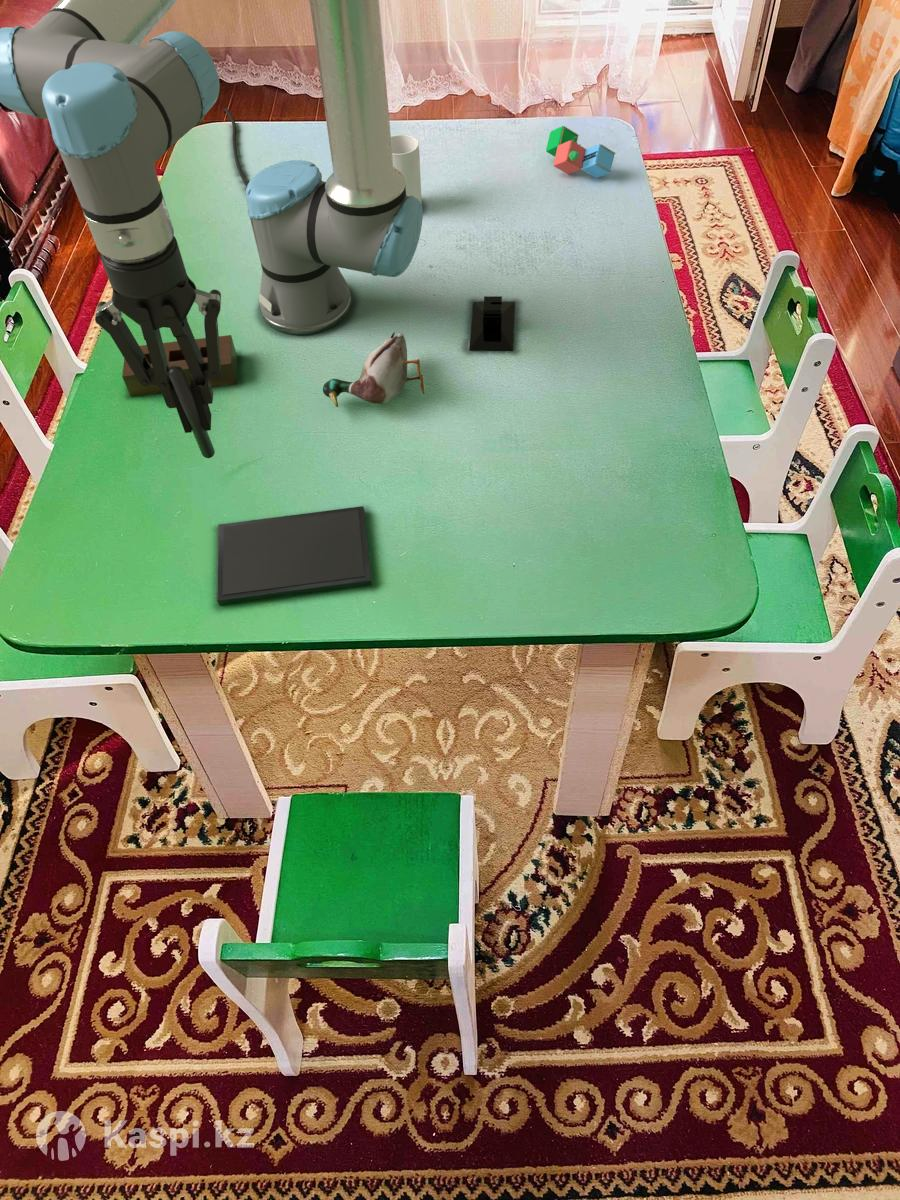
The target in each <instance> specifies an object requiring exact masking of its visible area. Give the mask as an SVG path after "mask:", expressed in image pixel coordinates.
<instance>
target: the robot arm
mask: <svg viewBox="0 0 900 1200" xmlns="http://www.w3.org/2000/svg"><path fill="white" fill-rule="evenodd" d="M177 1H178V0H58V1H57V2H56V3H55V4H54V5H53V6H52V7H51V8H50V10H49V11H48V12H47V13H46V14H45V15H44V16H43V17H42V18H41V19H39V20H38V22H37V23H35V25H34V26H32V27H30V28H26V27H25V26H22V25H20V26H19V25H16V26H13V27H12V26H11V27H9V26H5V27H1V28H0V103H1V104H2V105H3V106H4V107H5V108H7V109H9V110H12V111H14V112H17V113H21V114H25V115H28V116H32V117H34V118H37V119H40V120H48V123H49V127H50V132H51V137H52V139H53V142H54V144H55V146H56V148H57V149H58V152H59V154H60V156H61V159H62V161H63V164H64V166H65V170H66V171H67V173H68V177H69V179H70V181H71V184H72V187H73V189H74V191H75V194H76V196H77V198H78V202H79V204H80V207H81V210H82V213H83V216H84V217H85V221H86V224H87V226H88V228H89V231H90V233H91V236H92V238H93V239H92V240H93V241H94V244H95V246H96V249H97V251H98V252H99V253H100V256H99V257H100V261H101V264H102V266H103V269H104V271H105V273H106V276H107V279H108V281H109V283H110V287H111V289H112V295H111V299H109V300H107V301H99V302H98V303H97V306H96V311H95V317H94V321H95V323H96V324H97V325H98V326H99V327H100V328H102V329H103V331H105V332H106V333H107V334H109V336H110V337H111V339H112V340H113V342H114V344H115V345H116V347H117V348H118V350H119V352H120V354H121V355H122V357H123V359H124V358H125V360H126V362H127V363H128V365H129V366H130V368H131V370H132V371H133V373H134V375H135V376H136V378H137V379H138V381H139V383H140V384H141V385H142V386H145V387H146V386H149V385H150V384H151V385H156V386H158V387H159V388H160V390H161V392H162V393H161V395H162V398H163V400H164V403H165V406H166V407H167V408H168V409H176V412H177V415H178V417H179V419H180V423H181V426H182V428H183V431H184V434H189V433H193V432H192V429H191V427H190V424H189V422H188V420H187V417H186V415H185V412H184V410H183V408H182V405H181V403H180V400H179V398H178V396H177V393H176V391H175V388H174V386H173V384H172V381H171V379H170V376H169V373H168V371H169V368H170V367H169V365H168V361H167V357H166V353H165V349H164V345H163V343H164V341H163V337H162V335H161V334H162V333H161V330H160V329H161V328H166V329H170V332H171V334H172V336H173V338H175V339H176V340H175V341H177V342H178V344H179V347H180V349H181V351H182V354H183V356H184V358H185V360H186V363H187V365H188V367H189V370H190V372H191V378H190V389H191V392H192V394H193V397H194V400H195V403H196V407H197V410H198V413H199V416H200V419H201V422H202V425H203V428H204V431H207V432H208V431H211V430H212V412H211V408H210V406H209V405H213V402H214V390H213V387H211V383H210V380H209V379H211V378H214V379H217V378H219V377H220V371H221V356H220V345H219V336H220V335H219V323H218V318H219V315H220V312H221V307H222V306H221V305H222V293H221V291H220V290H218V289H211V290H209V292H207V291H204V290H201V289H199V288H197V285H196V283H195V282H194V281H193V280H192V279H191V278H190V277H189V276H188V273H187V269H186V267H185V264H184V259H183V257H182V253H181V250H180V247H179V244H178V240H177V238H176V236H174V235H175V231H174V227H173V223H172V220H171V216H170V213H169V210H168V207H167V204H166V200H165V197H164V195H163V190H162V188H161V183H160V180H159V177H158V174H157V170H156V168H155V166H156V165H155V164H156V162H157V161H158V160H159V159H161V157H163V156H164V155H165V154H166V153H167V152H168V151H169V149H171V148H172V146H174V145H175V144H176V143H177V142H178V141H179V140H181V139H182V138H183V137H184V136H185V135H186V134H188V133H189V131H191V130H192V129H194V128H195V127H196V126H198V125H200V124H201V122H203V120H204V117H205V116H206V115H207V114H208V112H209V111H210V110H211V109H212V108H213V107H214V105H215V104H216V102H217V100H218V98H219V94H220V86H221V85H220V75H219V74H218V70H217V67H216V64H215V62H214V59H213V58H212V55H210V53H209V52H208V51H207V49H206V48H205V47H204V46H203V45H202V44H201V43H200V42H199V40H197V39H196V38H195V37H193V36H191V35H189V34H188V33H185V32H182V31H178V30H177V31H176V30H170V31H166V32H164V33H161V34H160V35H158V36H155V37H152V38H151V39H150V40H149V41H148V42H147V44H143V45H140V44H141V43H142V42H143V41H144V39H145V38H146V37H147V36H148V35H149V34H150V32H152V30H153V29H154V28H155V27H156V25H157V24H158V23H159V22H160V20H162V19H163V17H164V16H165V15H166V14H167V13H168V11H170V9H171V8H172V7H173V6H174V5H175V3H177ZM308 1H309V7H310V16H311V22H312V29H313V37H314V44H315V50H316V58H317V65H318V73H319V80H320V87H321V93H322V94H321V95H322V99H323V100H322V102H323V107H324V115H325V122H326V130H327V136H328V142H329V143H328V144H329V150H330V151H329V152H330V159H331V167H332V171H333V172H332V173H331V174H330V175H329V176H328V178H327V179H326V181H323V175H322V172H321V171H320V169H319V167H318V166H317V165H316V164H315V163H313V162H311V161H309V160H302V159H292V160H286V161H281V162H278V163H274V164H272V165H269V166H267V167H265V168H263V169H262V170H260V171H258V172H257V173H256V174H255V175H254V176H253V177H252V178H251V179H250V180H249V182H248V180H247V178H246V176H245V174H244V171H243V169H242V166H241V162H240V159H239V155H238V147H237V124H236V121H235V118H234V117H233V115H232V113H231V111H230V110H229V109H228V108H224V109H223V113H224V114H226V115H227V116H228V118H229V120H230V122H231V125H232V148H233V149H232V150H233V156H234V161H235V166H236V169H237V171H238V173H239V176H240V178H241V180H242V182H243V184H244V186H245V188H246V189H245V198H246V199H245V200H246V206H247V215H248V218H249V220H250V224H251V229H252V232H253V236H254V241H255V245H256V249H257V254H258V257H259V261H260V267H261V270H262V271H261V279H260V289H259V293H258V294H259V296H258V303H259V305H258V306H259V310H260V314H261V317H262V319H263V321H264V322H265V324H266V325H267V326H268V327H270V328H271V329H274V330H276V331H278V332H280V333H283V334H287V335H288V334H289V335H312V334H316V333H320V332H323V331H326V330H328V329H330V328H333V327H335V326H336V325H338V324H339V323H340V322H341V321H343V320H344V319H345V318H346V317H347V315H348V314H349V312H350V310H351V307H352V296H351V291H350V289H349V288H350V287H349V285H348V282H347V281H346V279H345V277H344V276H343V273H342V272H341V270H340V268H341V269H346V270H350V271H354V272H360V273H366V274H370V275H371V276H374V277H377V276H382V277H388V278H397V277H399V276H401V275H402V274H403V273H404V272H405V271H406V270H407V269H408V267H410V264H411V263H412V260H413V258H414V256H415V254H416V251H417V247H418V245H419V242H420V237H421V232H422V227H423V215H424V211H423V206H422V205H423V204H422V205H421V203H420V201H419V200H418V199H417V198H414V196H407V195H406V187H405V178H404V176H403V175H402V173H401V172H400V171H399V170H397V169H396V168H395V167H393V157H392V145H391V136H392V135H391V125H390V124H391V123H390V122H391V121H390V112H389V99H388V88H387V77H386V65H385V52H384V51H385V50H384V40H383V31H382V19H381V16H382V15H381V7H380V0H308ZM194 303H196V304H197V306H198V311H199V313H201V315H202V316H204V321H203V322H204V323H203V324H204V335H205V337H204V338H206V347H207V357H208V362H206V363H205V362H204V360H203V358H202V355H201V353H200V350H199V348H198V345H197V343H196V341H195V339H196V338H195V336H194V333H193V331H192V329H191V327H190V324H189V321H188V315H189V313H190V311H191V309H192V307H193V305H194ZM123 314H124V315H125V316H126V317H128V318H130V319H131V320H132V321H133V322H135V323H136V324H137V325H138V326H140V329H141V330H140V331H141V333H142V337H143V340H144V341H145V343H146V344H145V345H147V348H148V351H149V355H150V359H151V363H152V366H153V368H152V367H151V365H150V363H149V361H148V360H147V358H146V356H145V355H144V353H143V351H142V350H141V348H140V346H141V345H140V344H139V343H138V341H137V339H136V338H135V336H134V335H133V333H132V331H131V329H130V328H129V326H128V324H127V323H126V321H125V320H124V318H123Z"/></svg>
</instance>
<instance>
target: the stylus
mask: <svg viewBox="0 0 900 1200" xmlns="http://www.w3.org/2000/svg"><path fill="white" fill-rule="evenodd" d="M168 373H169V376H170V379H171V381H172V384H173V386H174V388H175V391H176V393H177V396H178V398H179V400H180V403H181V405H182V408H183V410H184V412H185V415H186V417H187V420H188V422H189V424H190V427H191V429H192V432H191V433H192V434H193V436H194V439H195V441H196V444H197V446H198V449H199V451H200V454H201V456H202V457H204V458H205V459H211V458H213V457H214V456H215V452H216V450H215V448H214V445H213V443H212V441H211V438H210V435H209V433H208V431H204V428H203V425H202V422H201V419H200V416H199V413H198V410H197V407H196V403H195V400H194V397H193V394H192V392H191V389H190V387H189V384H188V382H187V379H186V376H185V374H184V371H183V369H182V368H181V367H180V366H178V365H173V366H171V367H170V368H169V371H168Z"/></svg>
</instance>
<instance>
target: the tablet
mask: <svg viewBox="0 0 900 1200" xmlns="http://www.w3.org/2000/svg"><path fill="white" fill-rule="evenodd" d="M365 513H366V512H365V506H363V505H362V506H354V507H346V508H338V509H337V508H336V509H331V510H322V511H313V512H307V513H297V514H289V515H283V516H274V517H268V518H258V519H252V520H244V521H236V522H227V523H219V524H217V563H216V564H217V565H216V567H217V569H216V577H217V578H216V602H217V605H218V606H227V605H232V604H233V605H234V604H241V603H242V604H243V603H248V602H249V603H250V602H258V601H263V600H272V599H279V598H289V597H294V596H302V595H303V596H304V595H311V594H317V593H325V592H332V591H341V590H347V589H355V588H363V587H364V588H365V587H370V586H373V578H372V567H371V559H370V550H369V549H370V548H369V540H368V532H367V522H366V514H365Z"/></svg>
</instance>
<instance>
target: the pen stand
mask: <svg viewBox="0 0 900 1200" xmlns="http://www.w3.org/2000/svg"><path fill="white" fill-rule="evenodd" d="M195 341H196V343H197V345H198V348H199V350H200V353H201V355H202V358H203V360H204V362H205V363H206V362H208V357H207V347H206V337H203V338H195ZM163 345H164V349H165V353H166V357H167V361H168V365H169V367H171V366H173V365H178V366H180V367H181V368H182V369H183V371H184V374H185V376H186V379H187V382H188V384H189V387H190V378H191V372H190V370H189V367H188V365H187V363H186V360H185V358H184V356H183V354H182V351H181V349H180V347H179V344H178V342H177V340H175V341H168V342H163ZM219 345H220V356H221V371H220V377H219V378H217V379H214V378H211V379H209V380H210V383H211V387H212V388H213V387H220V386H221V387H222V386H228V385H236V384H238V354H237V351H236V347H235V343H234V340H233V336H232V335H231V334H229V335H228V334H227V335H219ZM139 346H140V348H141V350H142V351H143V353H144V355H145V356H146V358H147V360H148V361H149V363H150V365H151V367H152V368H153V366H152V363H151V359H150V355H149V351H148V348H147V344H142V345H139ZM121 376H122V380H123V382H124V384H125V387H126V389H127V392H128V394H129V397H137V396H145V395H154V394H162V392H161V390H160V388H159V387H158V386H156V385H151V384H150V385H149V386H146V387H145V386H142V385H141V384H140V383H139V381H138V379H137V378H136V376H135V375H134V373H133V371H132V370H131V368H130V366H129V365H128V363H127V362H126V360H125V358H124V357H123V366H122V373H121Z"/></svg>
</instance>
